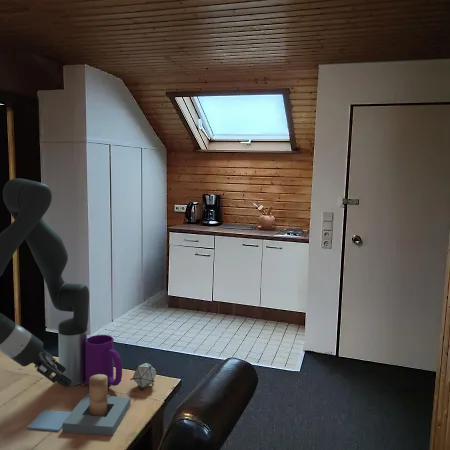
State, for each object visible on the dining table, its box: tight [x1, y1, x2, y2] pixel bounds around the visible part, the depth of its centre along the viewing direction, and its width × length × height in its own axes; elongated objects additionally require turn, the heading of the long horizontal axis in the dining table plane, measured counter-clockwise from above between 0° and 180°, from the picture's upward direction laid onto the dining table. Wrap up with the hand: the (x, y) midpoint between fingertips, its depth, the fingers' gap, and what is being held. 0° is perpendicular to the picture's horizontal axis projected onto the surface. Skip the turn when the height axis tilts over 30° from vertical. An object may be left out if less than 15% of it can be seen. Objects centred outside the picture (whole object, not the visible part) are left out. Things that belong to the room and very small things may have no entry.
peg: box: [88, 374, 108, 417], centre depth 127 cm, size 5×5×12 cm
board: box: [62, 394, 132, 436], centre depth 127 cm, size 16×14×2 cm
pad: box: [27, 409, 72, 432], centre depth 125 cm, size 9×9×1 cm
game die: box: [129, 359, 160, 391], centre depth 147 cm, size 9×8×10 cm
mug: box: [85, 334, 123, 387], centre depth 146 cm, size 9×16×15 cm, turn 53°
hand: (66, 377), depth 121 cm, fingers open, 8 cm apart
